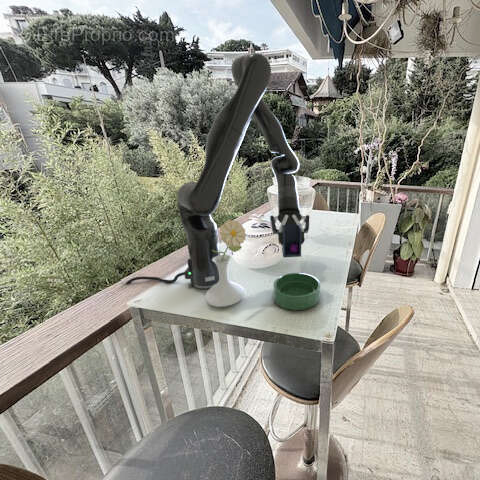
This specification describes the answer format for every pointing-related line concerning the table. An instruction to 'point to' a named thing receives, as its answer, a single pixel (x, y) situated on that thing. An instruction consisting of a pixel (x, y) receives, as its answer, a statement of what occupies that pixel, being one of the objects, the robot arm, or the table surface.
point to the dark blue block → (291, 239)
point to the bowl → (296, 291)
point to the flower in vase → (226, 289)
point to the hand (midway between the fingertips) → (292, 243)
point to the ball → (294, 248)
